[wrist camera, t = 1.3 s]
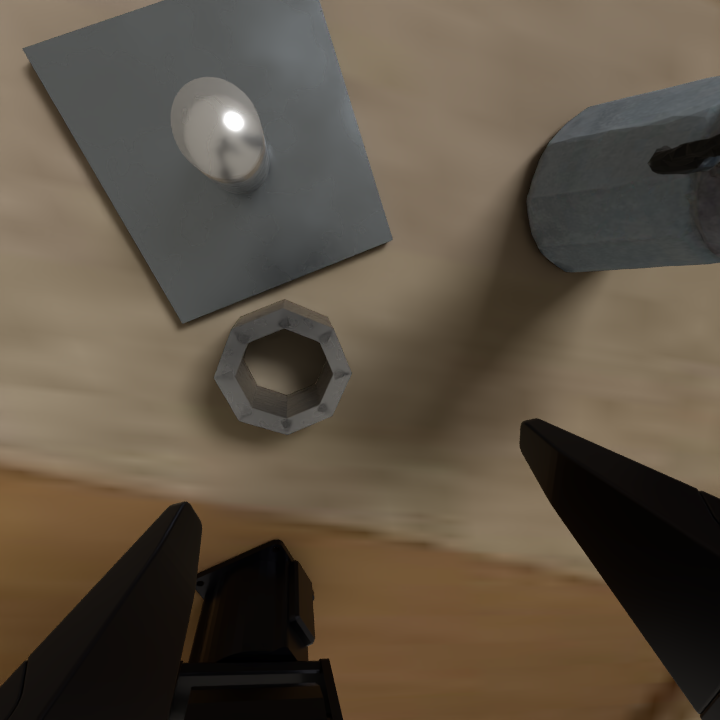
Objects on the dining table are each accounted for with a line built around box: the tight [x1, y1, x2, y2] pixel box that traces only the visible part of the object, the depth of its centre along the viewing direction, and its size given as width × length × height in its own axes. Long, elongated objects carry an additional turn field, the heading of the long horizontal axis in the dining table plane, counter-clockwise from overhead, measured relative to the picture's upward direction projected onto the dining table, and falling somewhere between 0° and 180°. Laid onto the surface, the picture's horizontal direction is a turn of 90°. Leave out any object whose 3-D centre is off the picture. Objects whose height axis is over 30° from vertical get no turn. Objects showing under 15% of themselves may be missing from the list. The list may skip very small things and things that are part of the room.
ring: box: [214, 299, 352, 435], centre depth 19 cm, size 6×6×3 cm
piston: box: [23, 0, 393, 324], centre depth 14 cm, size 12×12×5 cm
